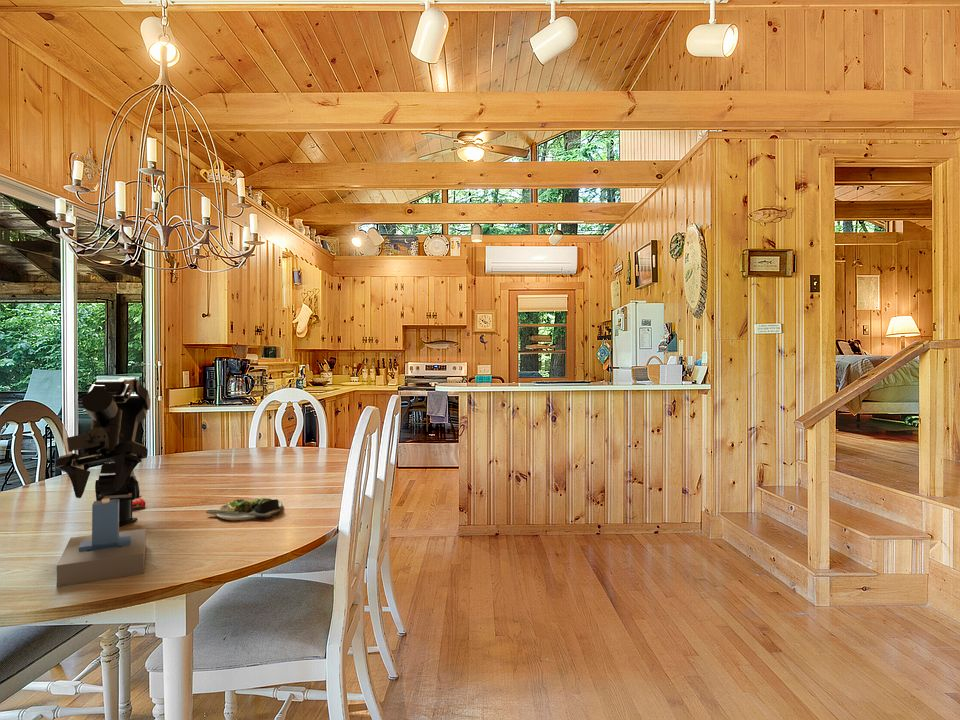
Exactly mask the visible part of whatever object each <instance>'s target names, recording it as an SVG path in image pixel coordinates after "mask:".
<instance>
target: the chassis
mask: <svg viewBox="0 0 960 720" xmlns="http://www.w3.org/2000/svg"><path fill="white" fill-rule="evenodd" d="M126 536H131V542H130V545H123V546H119V547H116V548H109V549H101V550H94V551H92V550H85V551H79V546H80V543H81V542H85V541H92V534H89V535H83V536H82V535H81V536H73V537H70V538H69V540H68V542H67V545H65V546H66V547H65V548H64V550H63V552H62V555H61V556H60V558H59V560H58V562H57V565H56V587H62V586H69V585H75V584H83V583H88V582H95V581H101V580H108V579H115V578H121V577H126V576H134V575H141V574H144V571H145V560H146V549H147V528H139V529H132V530H131V529H130V530H124V531H122V530H121V531H119V537H126Z"/></svg>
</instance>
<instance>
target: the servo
mask: <svg viewBox="0 0 960 720" xmlns="http://www.w3.org/2000/svg"><path fill="white" fill-rule="evenodd" d="M91 507H92V508H91V514H92V516H91V527H92V528H91V535H92V541H85V542H81V543H80V546H79V551H85V550H92V551H94V550H101V549H109V548H116V547H119V546H123V545H130V542H131V536H126V537H119V532H120V527H119V499H113V500H110V498H105V499H102V501H96V500H95V501H93V502H92V505H91Z"/></svg>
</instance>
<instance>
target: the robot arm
mask: <svg viewBox="0 0 960 720" xmlns="http://www.w3.org/2000/svg"><path fill="white" fill-rule="evenodd" d="M81 405H82V407H83V408H84V410H85V412H86V413H87V415H88V416H89V417H90V418H91V419H92V421H91V428H90V430H86V432H85V433H83V434H82V433H81V434H77V435H72V436H68V437H66V444H67V450H68V453H69V452H71V453H70V454H64V455H60V456H58V457H57V458H56V459H55V464H54V465H55V466H54V469H58V470H60V472H64V473H66V474H67V476H69V479H70V482H71V485H72V488H73V492H74V495H75V498H77V499H82V497H83V494H85V493H84V492H85V490H86V486H87V483H88V480H89V477H90V475H91V470H89V469H90V468H91V464H94V463H99V462H103V464H102V465H101V466H100V473H99V475H98V477H97V478H96V479H95V484H94V490H95V491H94V492H95V499H96V500H95V501H102V499H105V498H110V500H113V499H119V528H120V527H122V526H125V525H127V524H131V523H133V522H135V521H138V519H139V518H138V517H133V510H132V500H135V499H137V498H140V496H141V495H140V493H141V491H140V484H139V481H138V480H137V476H136V475H135V471H134V469H135V468H136V467H137V466H138V464H139V463H142V462H143V459H147V458H148V454H149V453H148V452H149V451H148V447H147V446H146V445H144V444H142V443H139V442H136V436H137V431H138V425H139V424H140V423H141V422H142V421H143V420H145V418H146V417H147V413H148V411H149V410H150V408H151V398H150V394H149V390H148V389H146V388H145V387H144V386H143V385H142V384H141V382H140V379H139V378H136V377H119V378H116V379H96V380H95V381H94V384H91V386H90V387H89V389H88V391H87V393H86V394H85V395H84V396H83V397H82V400H81ZM74 451H80V453H81V454H87V455H85V456H83V455H81V454H77V453H74ZM72 452H73V453H72ZM105 461H108V462H105ZM130 493H132V494H130Z"/></svg>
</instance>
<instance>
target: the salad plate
mask: <svg viewBox="0 0 960 720" xmlns="http://www.w3.org/2000/svg"><path fill="white" fill-rule="evenodd" d="M282 509H283V502H282V501H281V500H279V499H277V498H276V499H272V498H270V497H269V498H267V497H266V498H265V497H260V498H255V499H254V500H250V501H248V500H246V499H243V498H241V499H236V498H235V499H233V500H232V501H231V502H228V503H227V502H226V503H225V504H222V505H221V506H220V507H219V509H217V510H216V509H208V510H206V511H205V514H208V515H213V516H216V517H217V518H220V519H222V520H226V521H231V522H232V521H233V522H234V521H235V522H236V521H237V520H240V521H252V520H251V519H258V520H264V519H263V518H267V519H270V518H269V517H271V518H274V517H273V516H275V515H277V516H279V515H280V514H281V512H282ZM278 514H279V515H278ZM275 517H276V516H275ZM237 522H238V521H237Z"/></svg>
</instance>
